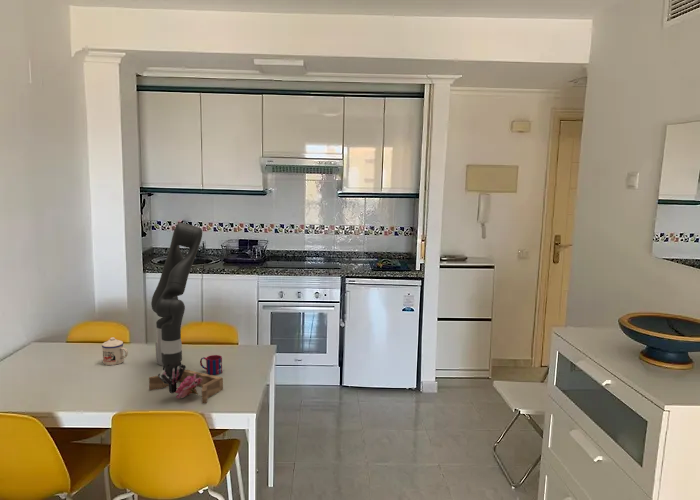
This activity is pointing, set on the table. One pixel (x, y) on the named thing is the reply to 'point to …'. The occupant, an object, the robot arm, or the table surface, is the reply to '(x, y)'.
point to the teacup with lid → (113, 352)
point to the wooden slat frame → (208, 385)
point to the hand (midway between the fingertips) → (172, 392)
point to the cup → (213, 364)
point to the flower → (188, 386)
